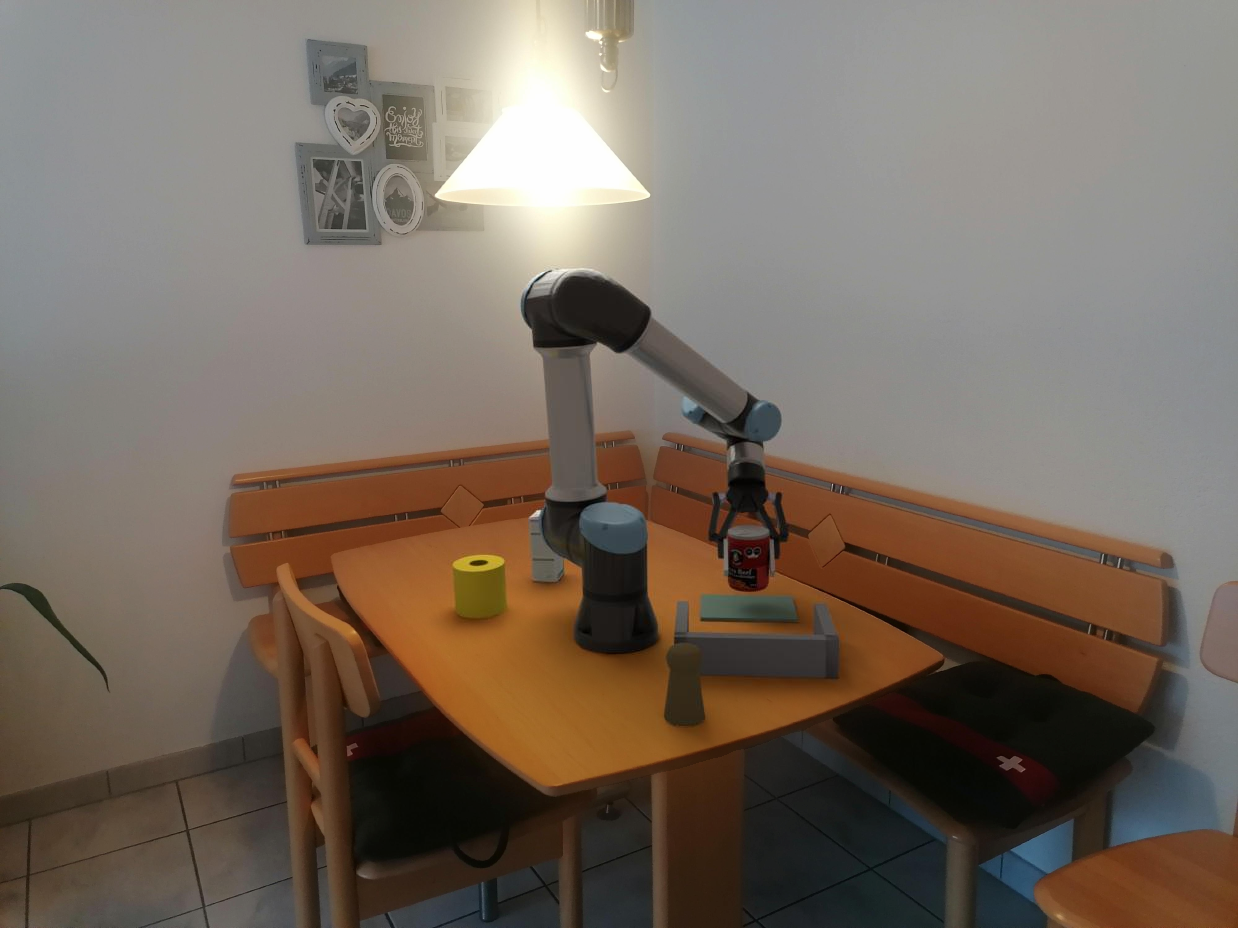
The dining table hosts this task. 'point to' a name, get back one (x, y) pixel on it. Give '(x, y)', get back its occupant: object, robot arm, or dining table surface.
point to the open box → (765, 649)
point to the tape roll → (479, 586)
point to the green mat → (747, 608)
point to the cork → (684, 686)
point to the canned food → (748, 558)
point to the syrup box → (543, 555)
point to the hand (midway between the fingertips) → (749, 573)
